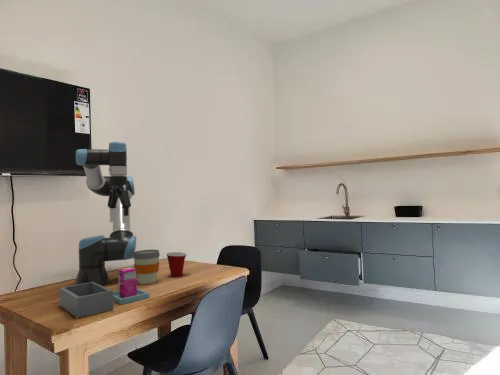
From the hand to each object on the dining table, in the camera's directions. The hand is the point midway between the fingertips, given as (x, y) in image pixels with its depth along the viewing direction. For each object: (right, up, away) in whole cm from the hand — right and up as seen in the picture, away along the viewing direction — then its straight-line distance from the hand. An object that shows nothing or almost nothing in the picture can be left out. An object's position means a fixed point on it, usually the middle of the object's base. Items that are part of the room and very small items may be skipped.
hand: (119, 222), depth 153 cm
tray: (+9, -30, -13) cm, 34 cm away
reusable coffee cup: (+8, -31, +14) cm, 35 cm away
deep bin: (-3, -30, -24) cm, 39 cm away
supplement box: (+9, -30, -13) cm, 33 cm away
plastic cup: (+21, -31, +26) cm, 46 cm away
